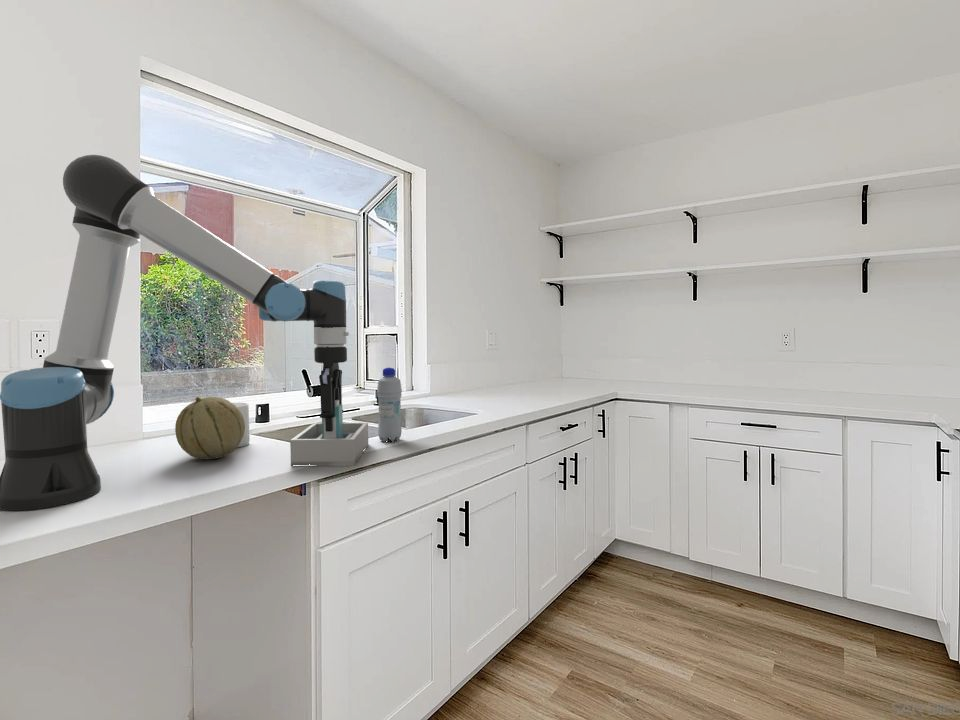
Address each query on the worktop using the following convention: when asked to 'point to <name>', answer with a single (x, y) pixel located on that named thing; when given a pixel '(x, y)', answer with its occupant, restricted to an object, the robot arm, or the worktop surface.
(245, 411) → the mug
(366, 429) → the box
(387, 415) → the bottle
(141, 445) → the worktop surface
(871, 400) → the worktop surface
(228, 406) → the cantaloupe
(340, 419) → the block
